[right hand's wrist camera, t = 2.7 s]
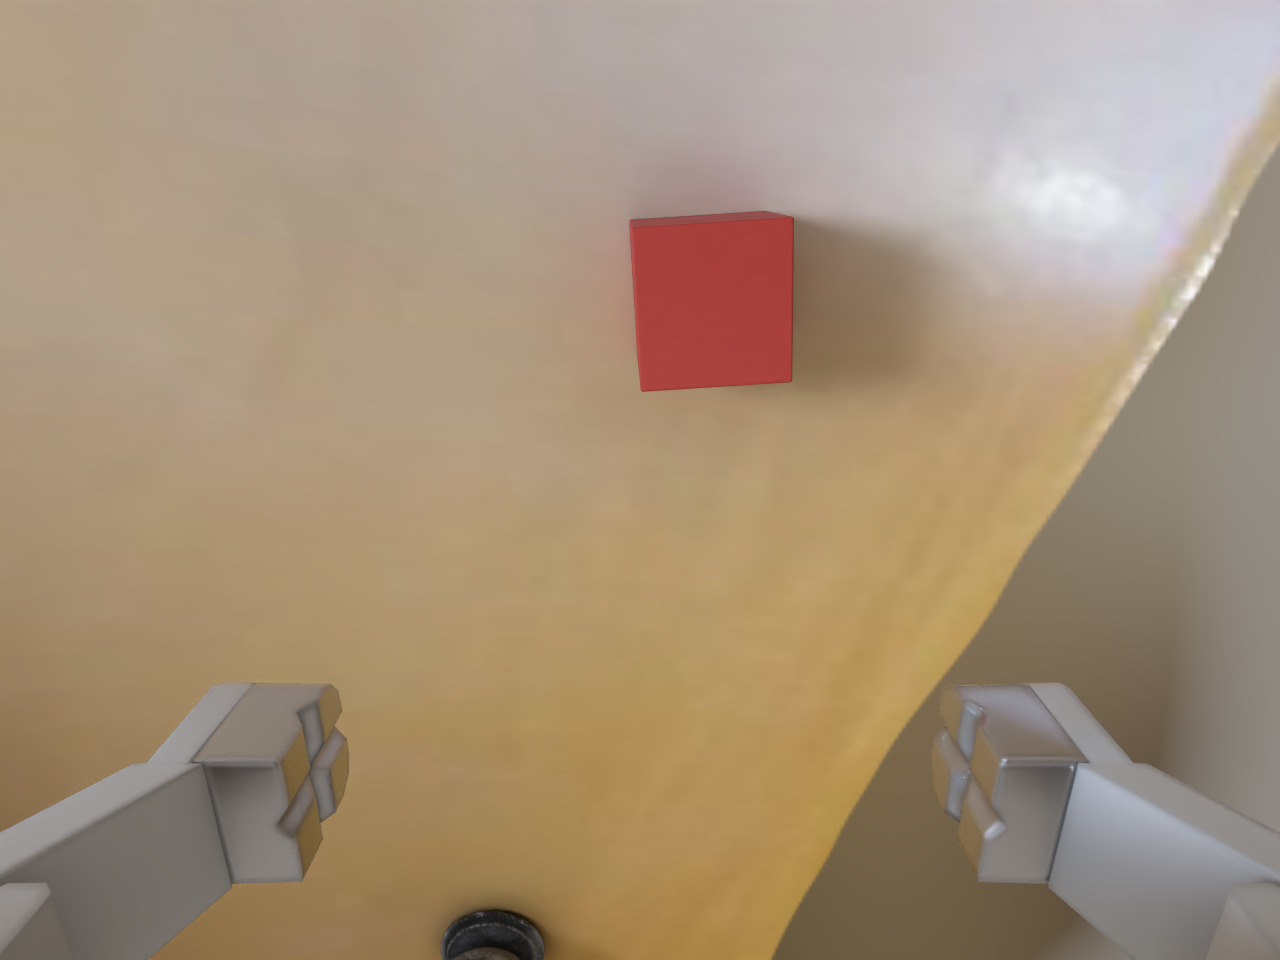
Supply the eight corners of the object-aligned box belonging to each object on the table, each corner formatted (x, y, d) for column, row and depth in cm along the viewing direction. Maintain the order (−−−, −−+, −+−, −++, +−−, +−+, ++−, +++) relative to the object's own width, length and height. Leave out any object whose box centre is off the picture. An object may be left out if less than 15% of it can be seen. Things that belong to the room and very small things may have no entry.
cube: (637, 360, 30) (641, 392, 25) (629, 219, 28) (630, 227, 23) (766, 352, 30) (792, 382, 25) (766, 211, 28) (794, 216, 23)
